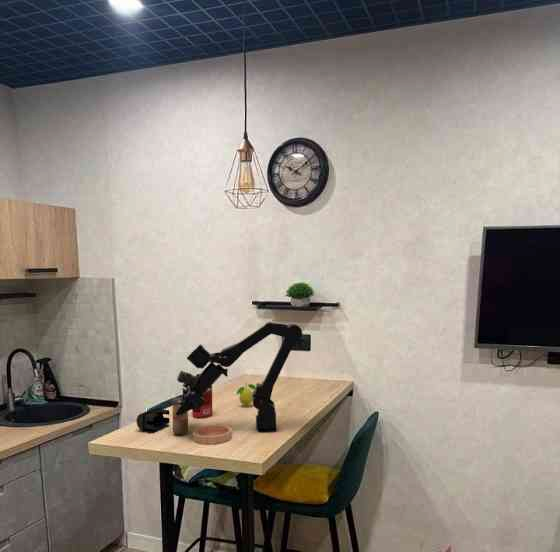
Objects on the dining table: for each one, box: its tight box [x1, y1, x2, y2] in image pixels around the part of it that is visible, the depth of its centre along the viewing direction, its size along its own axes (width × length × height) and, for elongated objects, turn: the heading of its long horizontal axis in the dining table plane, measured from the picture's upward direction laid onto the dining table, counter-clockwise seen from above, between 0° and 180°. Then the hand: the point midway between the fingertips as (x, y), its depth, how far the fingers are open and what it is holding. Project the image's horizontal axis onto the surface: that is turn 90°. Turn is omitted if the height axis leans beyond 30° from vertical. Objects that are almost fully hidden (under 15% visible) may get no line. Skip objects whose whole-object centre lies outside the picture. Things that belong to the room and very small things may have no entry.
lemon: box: [236, 383, 256, 407], centre depth 199 cm, size 7×6×10 cm
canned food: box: [191, 387, 213, 419], centre depth 186 cm, size 8×8×11 cm
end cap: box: [135, 406, 170, 434], centre depth 171 cm, size 10×7×7 cm
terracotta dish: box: [192, 424, 233, 446], centre depth 160 cm, size 13×13×2 cm
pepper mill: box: [171, 396, 189, 435], centre depth 165 cm, size 5×5×11 cm
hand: (176, 412), depth 164 cm, fingers closed on pepper mill, 5 cm apart
